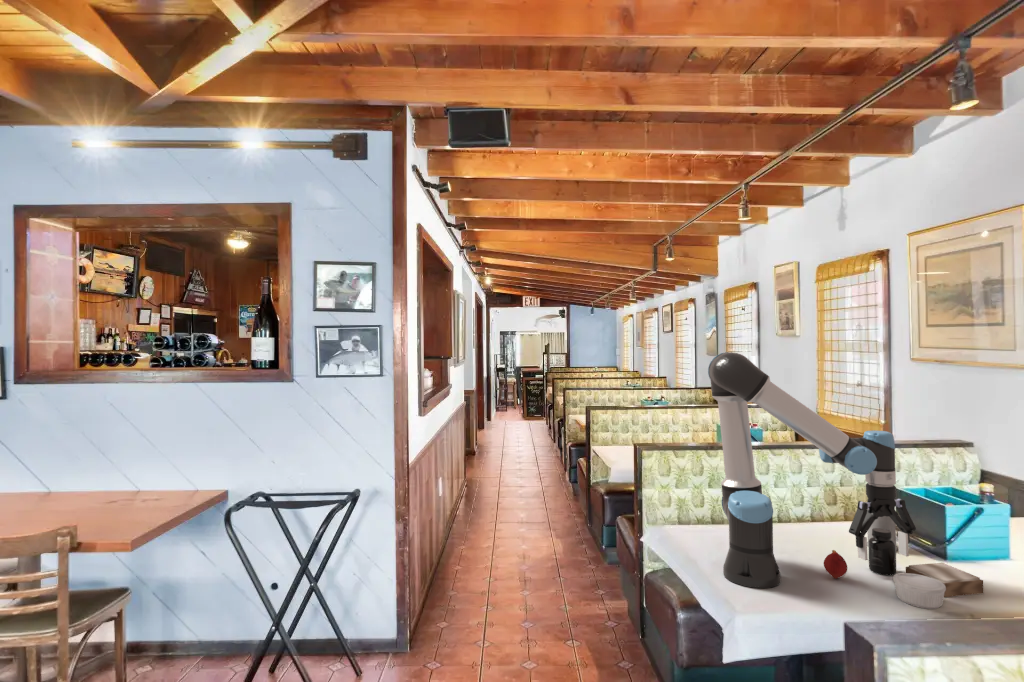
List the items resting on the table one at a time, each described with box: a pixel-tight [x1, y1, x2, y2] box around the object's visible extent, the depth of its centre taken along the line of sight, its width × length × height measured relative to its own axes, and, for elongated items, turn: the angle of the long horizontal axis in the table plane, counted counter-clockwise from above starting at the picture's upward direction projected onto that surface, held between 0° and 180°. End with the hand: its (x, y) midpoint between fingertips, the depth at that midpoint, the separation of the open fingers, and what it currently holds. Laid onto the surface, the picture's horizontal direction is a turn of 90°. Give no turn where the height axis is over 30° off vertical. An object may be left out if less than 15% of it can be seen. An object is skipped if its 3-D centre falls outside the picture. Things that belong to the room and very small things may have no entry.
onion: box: [823, 549, 848, 580], centre depth 161 cm, size 6×6×8 cm
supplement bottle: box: [867, 528, 897, 576], centre depth 166 cm, size 7×7×12 cm
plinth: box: [905, 562, 984, 598], centre depth 155 cm, size 12×12×4 cm
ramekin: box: [892, 572, 946, 610], centre depth 147 cm, size 11×11×5 cm
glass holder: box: [867, 507, 899, 552], centre depth 189 cm, size 9×14×15 cm, turn 148°
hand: (883, 556), depth 166 cm, fingers open, 13 cm apart
